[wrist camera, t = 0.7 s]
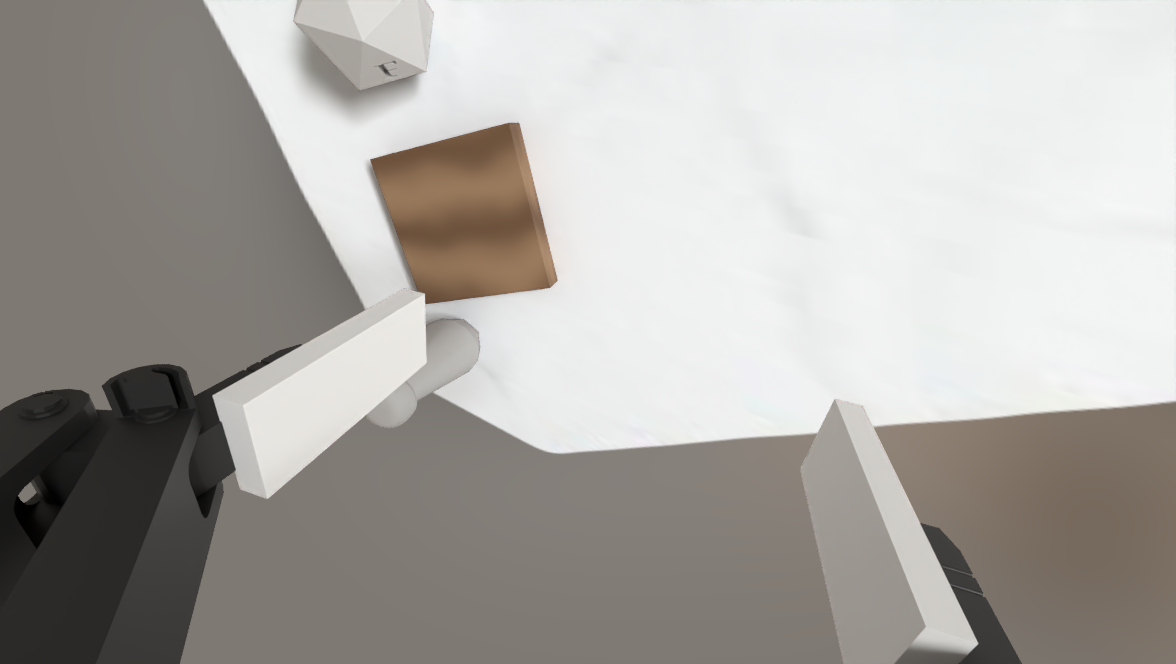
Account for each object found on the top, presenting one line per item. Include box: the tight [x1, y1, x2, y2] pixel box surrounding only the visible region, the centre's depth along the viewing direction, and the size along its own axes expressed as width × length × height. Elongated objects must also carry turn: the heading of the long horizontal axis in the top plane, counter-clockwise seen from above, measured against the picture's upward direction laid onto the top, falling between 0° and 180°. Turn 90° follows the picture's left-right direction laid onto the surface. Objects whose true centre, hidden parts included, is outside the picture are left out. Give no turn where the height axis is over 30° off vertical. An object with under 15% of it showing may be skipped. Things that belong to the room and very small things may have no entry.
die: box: [293, 0, 434, 91], centre depth 31 cm, size 8×9×10 cm
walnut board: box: [370, 123, 557, 304], centre depth 39 cm, size 13×13×2 cm
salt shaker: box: [365, 319, 480, 428], centre depth 40 cm, size 6×6×13 cm
